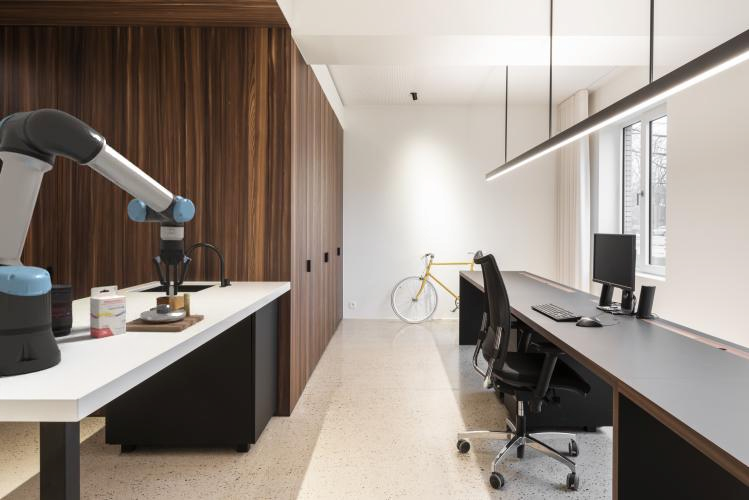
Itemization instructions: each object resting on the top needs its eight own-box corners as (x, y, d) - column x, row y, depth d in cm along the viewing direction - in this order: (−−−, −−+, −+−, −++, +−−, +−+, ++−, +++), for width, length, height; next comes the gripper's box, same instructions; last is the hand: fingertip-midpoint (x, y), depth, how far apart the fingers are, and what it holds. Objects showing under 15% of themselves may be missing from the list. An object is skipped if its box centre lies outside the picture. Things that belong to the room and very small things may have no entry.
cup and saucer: (190, 311, 181) (190, 296, 180) (170, 317, 169) (170, 300, 169) (164, 309, 183) (163, 294, 183) (142, 315, 172) (142, 299, 171)
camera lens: (57, 338, 134) (56, 288, 134) (34, 337, 136) (33, 287, 135) (80, 332, 142) (79, 284, 142) (58, 331, 144) (57, 283, 143)
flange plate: (171, 323, 147) (171, 304, 147) (131, 321, 149) (130, 303, 149) (199, 312, 165) (199, 296, 165) (163, 311, 167) (162, 295, 167)
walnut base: (180, 331, 145) (180, 302, 145) (117, 330, 145) (117, 301, 145) (203, 319, 165) (203, 293, 165) (148, 318, 165) (148, 292, 165)
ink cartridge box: (99, 338, 135) (98, 289, 135) (89, 336, 138) (89, 288, 137) (127, 333, 143) (126, 286, 142) (117, 331, 145) (117, 285, 144)
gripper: (150, 239, 157) (150, 306, 158) (190, 239, 161) (190, 305, 162) (154, 238, 164) (153, 303, 166) (192, 239, 168) (191, 302, 169)
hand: (171, 304), depth 164 cm, fingers closed
